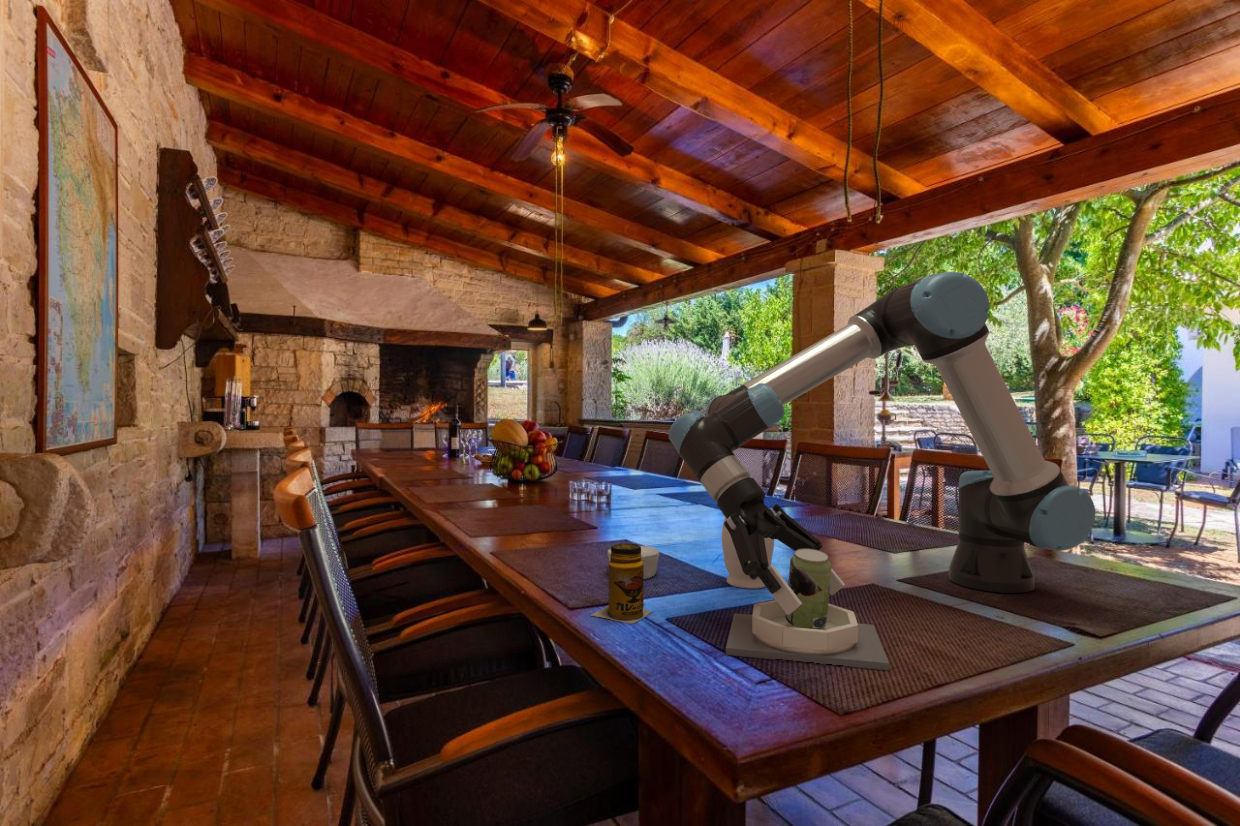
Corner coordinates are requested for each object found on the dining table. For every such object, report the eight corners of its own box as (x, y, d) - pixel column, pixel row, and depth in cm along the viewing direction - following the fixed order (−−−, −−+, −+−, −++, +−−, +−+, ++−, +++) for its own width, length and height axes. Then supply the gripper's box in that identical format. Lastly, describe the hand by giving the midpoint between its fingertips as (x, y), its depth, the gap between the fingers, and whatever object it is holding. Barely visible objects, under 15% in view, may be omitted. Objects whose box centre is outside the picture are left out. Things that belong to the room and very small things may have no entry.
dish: (850, 623, 103) (850, 603, 103) (861, 659, 88) (861, 635, 88) (755, 616, 107) (755, 596, 107) (750, 648, 92) (750, 626, 92)
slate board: (873, 630, 103) (873, 624, 103) (889, 670, 87) (889, 663, 87) (734, 619, 108) (734, 613, 108) (725, 654, 93) (725, 647, 93)
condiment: (633, 624, 106) (634, 551, 105) (589, 616, 110) (590, 546, 110) (653, 612, 112) (653, 543, 112) (610, 604, 116) (611, 538, 116)
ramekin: (636, 565, 145) (636, 542, 145) (670, 576, 136) (670, 551, 136) (596, 574, 138) (596, 549, 138) (630, 585, 129) (630, 559, 129)
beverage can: (810, 619, 103) (810, 544, 103) (840, 634, 96) (841, 554, 96) (776, 623, 101) (777, 547, 100) (805, 639, 94) (806, 557, 94)
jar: (711, 580, 133) (711, 507, 133) (752, 574, 137) (752, 504, 137) (742, 593, 123) (742, 515, 123) (785, 587, 127) (785, 512, 127)
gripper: (760, 496, 117) (838, 595, 107) (673, 512, 99) (756, 633, 89) (786, 469, 113) (870, 569, 103) (700, 481, 95) (791, 603, 85)
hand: (817, 599), depth 96 cm, fingers open, 13 cm apart
